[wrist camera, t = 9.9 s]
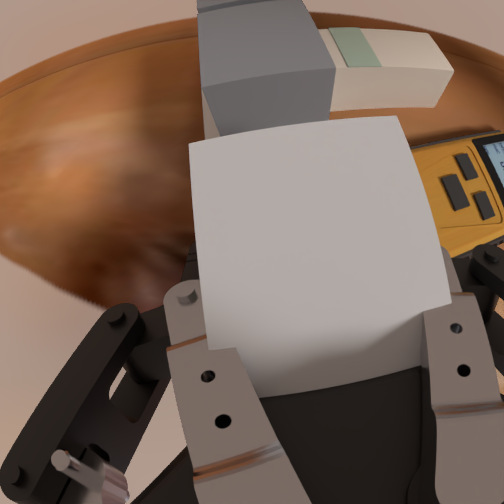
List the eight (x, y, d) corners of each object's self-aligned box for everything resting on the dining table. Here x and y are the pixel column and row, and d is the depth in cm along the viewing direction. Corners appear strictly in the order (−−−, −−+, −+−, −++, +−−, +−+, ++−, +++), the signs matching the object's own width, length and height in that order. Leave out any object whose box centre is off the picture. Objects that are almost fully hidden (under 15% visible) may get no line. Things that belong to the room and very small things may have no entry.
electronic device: (364, 171, 21) (375, 146, 17) (502, 138, 20) (520, 120, 16) (408, 283, 19) (428, 276, 15) (541, 223, 18) (563, 211, 14)
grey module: (335, 236, 15) (396, 115, 6) (352, 334, 14) (457, 352, 5) (245, 250, 16) (184, 144, 6) (259, 349, 15) (211, 402, 5)
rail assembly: (306, 63, 23) (306, -53, 11) (379, 366, 17) (483, 417, 6) (202, 79, 23) (160, -29, 12) (236, 390, 18) (168, 474, 7)
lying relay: (413, 71, 22) (428, 32, 17) (433, 108, 21) (455, 70, 16) (309, 73, 22) (311, 28, 18) (323, 113, 21) (329, 67, 16)
